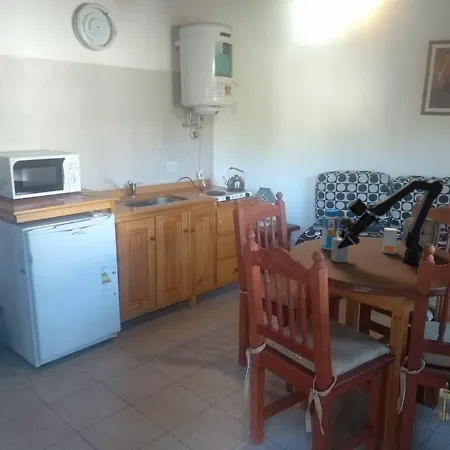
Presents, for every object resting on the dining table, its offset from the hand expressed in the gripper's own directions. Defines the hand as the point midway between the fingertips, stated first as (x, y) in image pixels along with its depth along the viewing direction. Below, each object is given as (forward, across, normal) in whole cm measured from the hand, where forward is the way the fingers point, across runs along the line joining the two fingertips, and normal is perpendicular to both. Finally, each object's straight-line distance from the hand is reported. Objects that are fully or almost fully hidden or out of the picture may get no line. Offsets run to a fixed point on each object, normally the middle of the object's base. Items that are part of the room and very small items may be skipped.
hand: (336, 246), depth 215 cm
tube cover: (+4, 0, +6) cm, 7 cm away
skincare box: (-15, -19, +25) cm, 35 cm away
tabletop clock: (-25, -20, +35) cm, 47 cm away
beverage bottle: (+6, -23, +5) cm, 25 cm away
